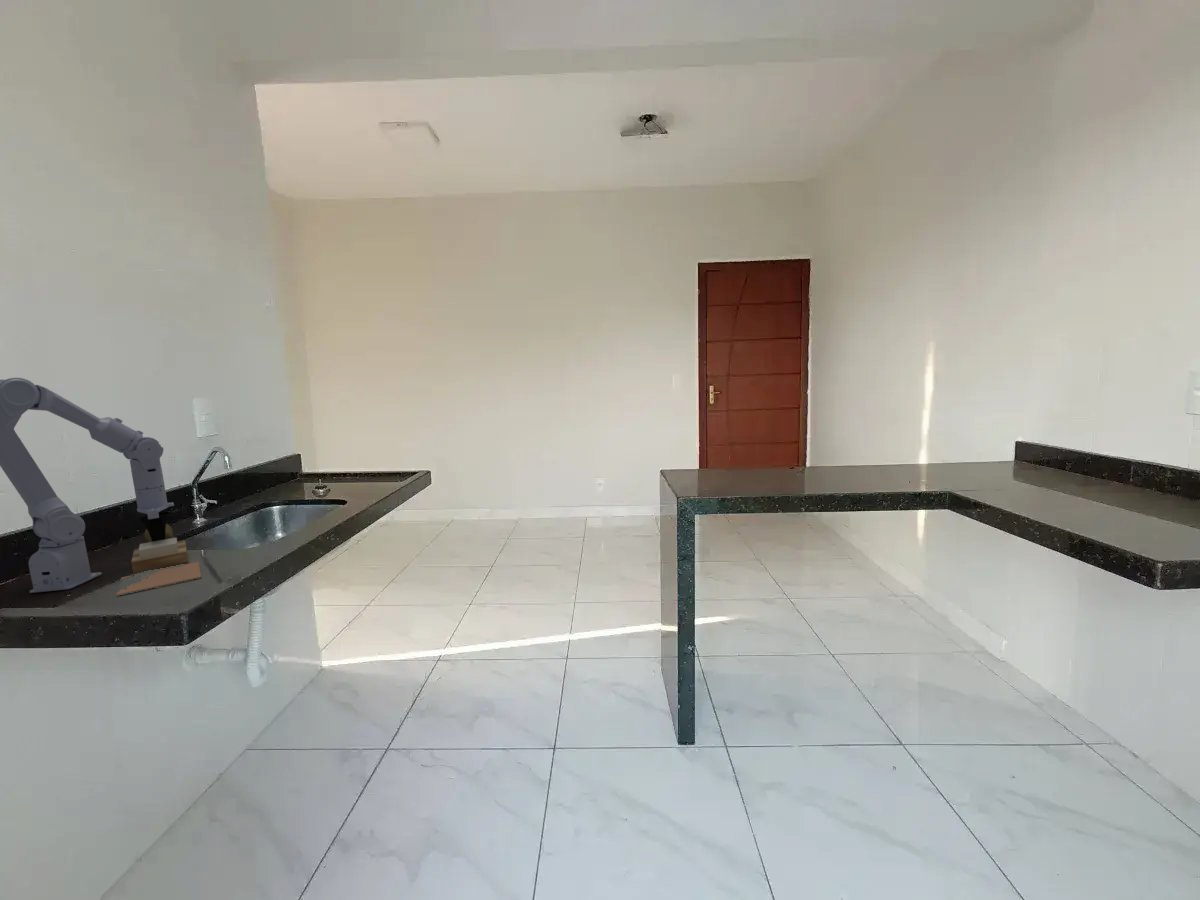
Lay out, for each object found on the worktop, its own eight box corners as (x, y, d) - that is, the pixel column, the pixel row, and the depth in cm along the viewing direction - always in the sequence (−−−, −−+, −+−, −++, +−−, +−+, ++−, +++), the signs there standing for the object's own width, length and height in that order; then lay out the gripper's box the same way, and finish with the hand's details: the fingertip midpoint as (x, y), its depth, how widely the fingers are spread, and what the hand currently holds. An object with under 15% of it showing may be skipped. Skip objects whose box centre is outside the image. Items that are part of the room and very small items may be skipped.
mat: (121, 579, 129) (121, 577, 129) (199, 563, 137) (198, 561, 137) (116, 596, 118) (116, 594, 118) (201, 578, 126) (201, 576, 126)
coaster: (141, 552, 139) (139, 543, 139) (177, 545, 143) (176, 537, 143) (140, 558, 133) (138, 550, 133) (178, 551, 137) (176, 543, 137)
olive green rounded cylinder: (140, 527, 154) (143, 536, 146) (168, 518, 158) (172, 527, 149) (149, 548, 156) (153, 559, 147) (176, 539, 159) (181, 549, 151)
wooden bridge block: (136, 561, 142) (134, 549, 142) (187, 551, 148) (185, 540, 148) (133, 575, 131) (131, 562, 131) (188, 564, 137) (186, 551, 136)
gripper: (170, 488, 138) (180, 545, 140) (170, 481, 150) (179, 534, 151) (131, 493, 134) (142, 552, 136) (134, 486, 146) (144, 540, 147)
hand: (159, 543), depth 143 cm, fingers closed
